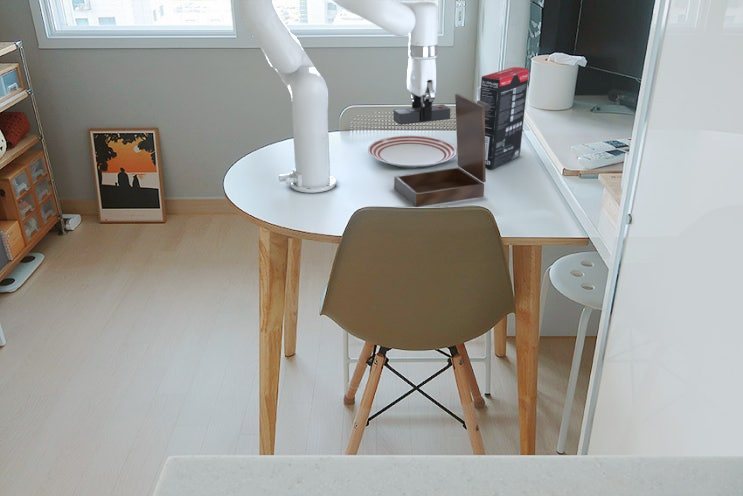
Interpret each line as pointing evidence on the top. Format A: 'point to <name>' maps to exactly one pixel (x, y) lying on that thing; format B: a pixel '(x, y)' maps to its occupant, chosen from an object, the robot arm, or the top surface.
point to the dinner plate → (412, 151)
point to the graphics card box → (504, 114)
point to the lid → (471, 136)
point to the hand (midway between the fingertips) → (421, 117)
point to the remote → (414, 114)
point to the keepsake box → (438, 186)
